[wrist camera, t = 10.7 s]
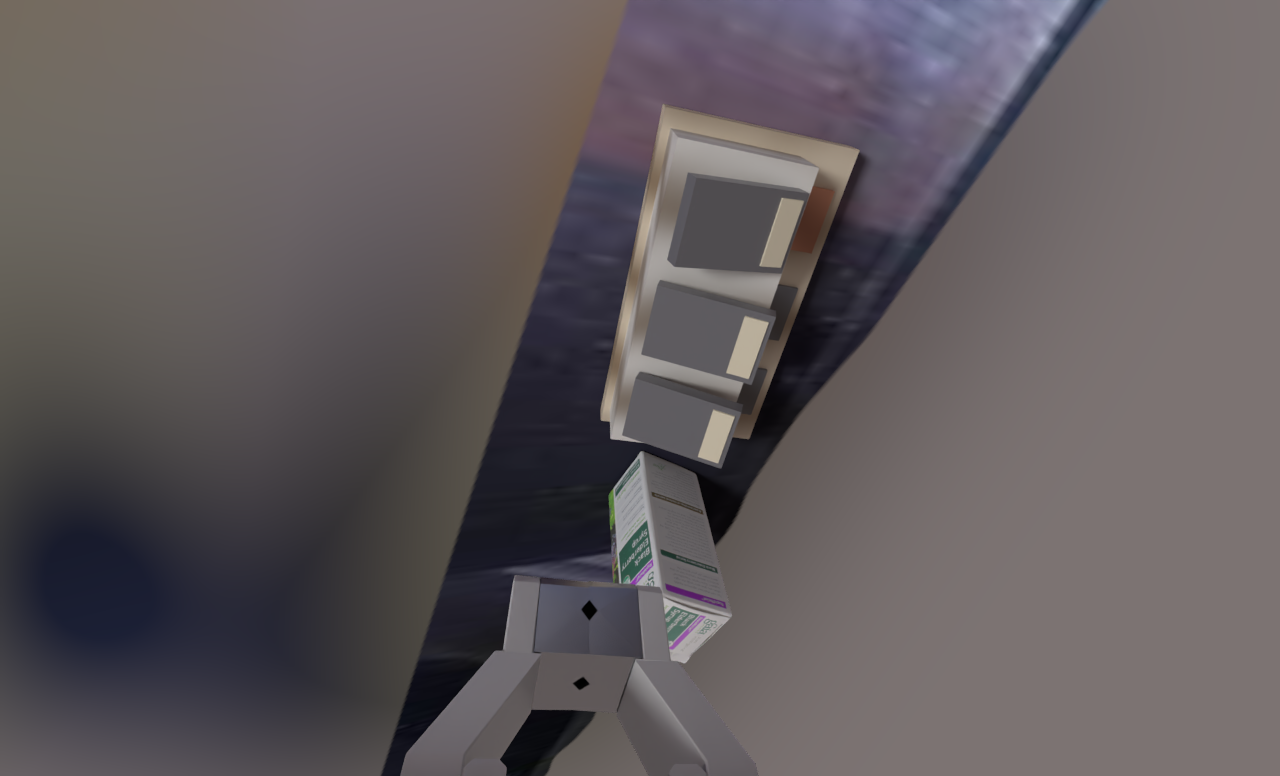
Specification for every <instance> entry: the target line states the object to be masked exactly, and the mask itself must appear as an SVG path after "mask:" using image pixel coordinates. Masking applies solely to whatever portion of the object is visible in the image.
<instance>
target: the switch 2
mask: <svg viewBox="0 0 1280 776" xmlns="http://www.w3.org/2000/svg"><path fill="white" fill-rule="evenodd" d="M742 407H743V404H740V403H736V402H733V401H730V400H727V399H724V398H721V397H718V396H715V395H711V394H708V393H705V392H702V391H699V390H696V389H693V388H690V387H686V386H683V385H680V384H677V383H674V382H671V381H668V380H664V379H661V378H658V377H655V376H652V375H649V374H646V373H643V372H639V373H638V375H637V376H636V378H635V382H634V386H633V390H632V395H631V399H630V403H629V408H628V412H627V416H626V420H625V425H624V429H623V433H622V436H625V437H628V438H631V439H634V440H637V441H640V442H643V443H646V444H649V445H652V446H655V447H658V448H661V449H664V450H667V451H670V452H673V453H676V454H679V455H682V456H685V457H688V458H691V459H694V460H697V461H700V462H703V463H706V464H709V465H712V466H715V467H718V468H721V467H722V465H723V462H724V459H725V456H726V453H727V451H728V448H729V445H730V442H731V440H732V437H733V434H734V431H735V429H736V426H737V423H738V420H739V418H740V415H741V412H742Z"/></svg>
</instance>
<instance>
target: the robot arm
mask: <svg viewBox="0 0 1280 776" xmlns="http://www.w3.org/2000/svg"><path fill="white" fill-rule="evenodd" d="M531 709H537V710H581V711H596V712H611V713H617V717H618V719H619V721H620V723H621V725H622V727H623V728H624V730H625V732H626V734H627V736H628V738H629V739H630V741H631V743H632V745H633V747H634V749H635V751H636V753H637V755H638V756H639V758H640V760H641V762H642V764H643V766H644V768H645V770H646V772H647V773H648V775H649V776H758V772H757V767H756V764H755V763H754V761H753V760H752V759H751V757H750V756H749V755H748V753H747V752H746V751H745V749H744V748H743V747H742V745H741V744H740V743H739V741H738V740H737V739H736V737H735V736H734V735H733V733H732V732H731V731H730V730H729V728H728V727H727V726H726V724H725V723H724V722H723V720H722V719H721V718H720V716H719V715H718V714H717V712H716V711H715V710H714V708H713V707H712V706H711V704H710V703H709V702H708V701H707V699H706V698H705V697H704V695H703V694H702V693H701V691H700V690H699V689H698V687H697V686H696V685H695V683H694V682H693V681H692V679H691V678H690V677H689V675H688V674H687V673H686V671H685V670H684V669H683V667H682V666H681V665H680V664H679V662H678V661H671V658H670V650H669V642H668V634H667V626H666V618H665V611H664V603H663V595H662V590H661V589H660V587H655V586H642V585H635V584H622V583H607V582H591V581H588V582H581V581H571V580H562V579H553V578H543V577H541V578H540V577H532V576H521V575H515V577H514V581H513V586H512V593H511V600H510V606H509V613H508V620H507V627H506V634H505V640H504V647H503V651H495V652H494V653H493V654H492V655H491V656H490V657H489V659H488V660H487V661H486V662H485V663H484V664H483V666H482V667H481V668H480V669H479V670H478V671H477V672H476V674H475V675H474V676H473V677H472V678H471V679H470V681H469V682H468V683H467V684H466V685H465V686H464V687H463V689H462V690H461V691H460V692H459V693H458V694H457V696H456V697H455V698H454V699H453V700H452V701H451V703H450V704H449V705H448V706H447V707H446V708H445V709H444V711H443V712H442V713H441V714H440V715H439V716H438V718H437V719H436V720H435V721H434V722H433V723H432V724H431V726H430V727H429V728H428V729H427V730H426V731H425V733H424V734H423V735H422V736H421V737H420V738H419V740H418V741H417V742H416V743H415V744H414V745H413V746H412V748H411V749H410V750H409V751H408V752H407V753H406V756H405V760H404V764H403V768H402V771H401V775H400V776H506V769H507V767H506V766H505V765H504V764H503V763H502V762H501V761H500V758H501V757H502V755H503V754H504V752H505V750H506V749H507V747H508V746H509V744H510V743H511V741H512V740H513V738H514V737H515V735H516V734H517V732H518V731H519V729H520V728H521V726H522V725H523V723H524V722H525V720H526V719H527V717H528V716H529V714H530V712H531Z"/></svg>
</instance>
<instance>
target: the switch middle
mask: <svg viewBox="0 0 1280 776" xmlns="http://www.w3.org/2000/svg"><path fill="white" fill-rule="evenodd" d="M775 319H776V311H775V310H771V309H768V308H764V307H760V306H756V305H753V304H749V303H745V302H741V301H738V300H734V299H730V298H726V297H723V296H719V295H715V294H711V293H708V292H704V291H700V290H696V289H693V288H689V287H685V286H681V285H678V284H674V283H670V282H667V281H663V280H660V281H659V283H658V285H657V289H656V293H655V297H654V301H653V306H652V310H651V314H650V318H649V323H648V327H647V331H646V336H645V340H644V344H643V348H642V353H641V355H645V356H648V357H652V358H655V359H659V360H663V361H666V362H670V363H674V364H677V365H681V366H684V367H688V368H692V369H695V370H699V371H703V372H706V373H710V374H713V375H717V376H721V377H724V378H728V379H732V380H735V381H739V382H742V383H746V384H750V385H752V382H753V380H754V377H755V374H756V371H757V369H758V366H759V363H760V360H761V358H762V355H763V352H764V349H765V347H766V344H767V341H768V338H769V336H770V333H771V330H772V327H773V325H774V322H775Z"/></svg>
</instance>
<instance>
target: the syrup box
mask: <svg viewBox="0 0 1280 776" xmlns="http://www.w3.org/2000/svg"><path fill="white" fill-rule="evenodd" d="M609 509H610V528H611V548H612V566H613V583H622V584H635V585H642V586H655V587H660V589H661V590H662V595H663V603H664V611H665V618H666V626H667V634H668V642H669V650H670V658H671V661H678V662H682V663H686V662H687V660H688V659H689V658H690V656H691V655H692V654H693V653H694V652H695V651H696V650H697V649H698V648H699V647H700V646H702V645H703V644H704V643H705V642H706V641H707V640H708V639H709V638H711V637H712V635H714V634H715V633H716V632H717V630H718V629H719V628H721V627H722V625H723V624H724V623H726V622H727V621H728V620H729V619H730V618H731V617H732V613H731V609H730V605H729V601H728V597H727V593H726V590H725V585H724V581H723V578H722V574H721V570H720V566H719V561H718V558H717V554H716V550H715V546H714V542H713V538H712V534H711V530H710V526H709V522H708V518H707V515H706V511H705V507H704V502H703V499H702V495H701V491H700V487H699V483H698V479H697V475H696V474H695V473H693V472H691V471H689V470H687V469H685V468H682V467H680V466H678V465H676V464H673V463H671V462H668V461H666V460H663V459H661V458H659V457H656V456H654V455H651V454H649V453H646V452H644V451H641V452H640V453H639V455H638V457H637V458H636V459H635V460H634V462H633V463H632V464H631V465H630V467H629V468H628V469H627V471H626V472H625V473H624V475H623V476H622V477H621V479H620V480H619V482H618V483H617V484H616V486H615V487H614V488H613V490H612V491H611V493H610V494H609Z"/></svg>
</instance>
